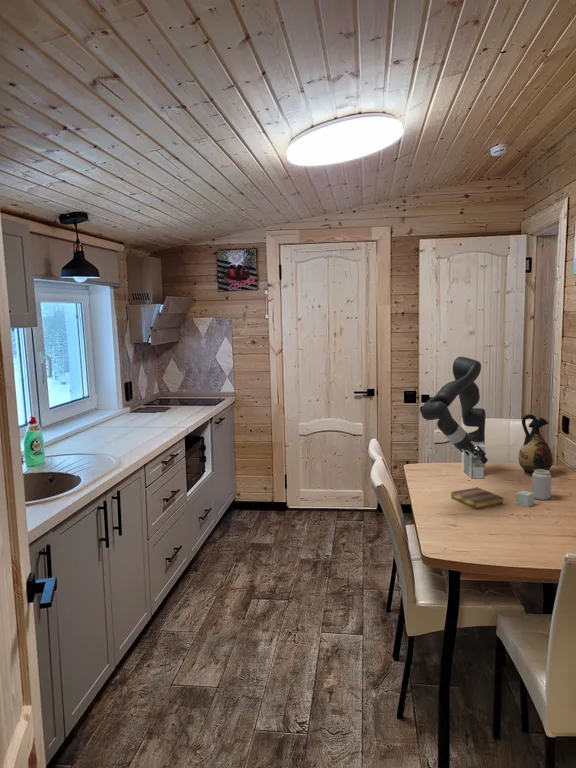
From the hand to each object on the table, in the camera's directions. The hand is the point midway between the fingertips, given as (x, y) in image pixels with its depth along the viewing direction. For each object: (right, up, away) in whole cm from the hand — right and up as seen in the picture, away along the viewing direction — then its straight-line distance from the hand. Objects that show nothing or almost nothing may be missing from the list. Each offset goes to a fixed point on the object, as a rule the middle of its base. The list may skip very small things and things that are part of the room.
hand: (479, 459), depth 236 cm
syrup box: (-1, -8, 0) cm, 8 cm away
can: (+28, -17, +3) cm, 33 cm away
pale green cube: (+18, -18, -4) cm, 26 cm away
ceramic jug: (+40, -13, +38) cm, 56 cm away
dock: (-1, -18, +2) cm, 18 cm away
